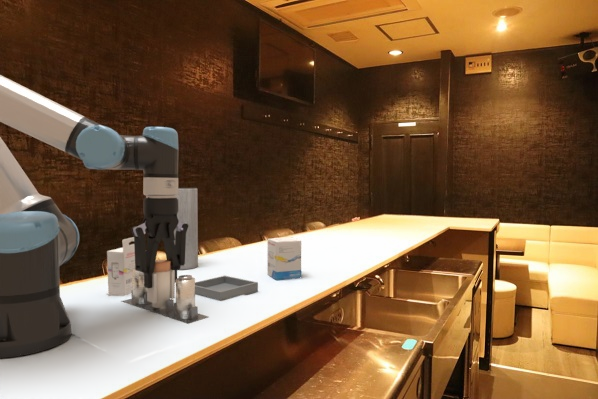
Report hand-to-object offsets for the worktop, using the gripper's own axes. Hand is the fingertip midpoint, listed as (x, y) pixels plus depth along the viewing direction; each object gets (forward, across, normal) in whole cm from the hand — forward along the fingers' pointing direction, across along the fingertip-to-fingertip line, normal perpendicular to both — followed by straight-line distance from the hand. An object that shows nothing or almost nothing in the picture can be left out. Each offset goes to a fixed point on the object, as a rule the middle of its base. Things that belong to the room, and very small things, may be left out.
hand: (161, 299), depth 98 cm
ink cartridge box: (+3, +3, +21) cm, 21 cm away
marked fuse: (+1, 0, 0) cm, 1 cm away
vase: (+3, +33, +37) cm, 50 cm away
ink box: (+2, +44, +1) cm, 44 cm away
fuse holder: (+3, 0, 0) cm, 3 cm away
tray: (+2, +19, +1) cm, 19 cm away
